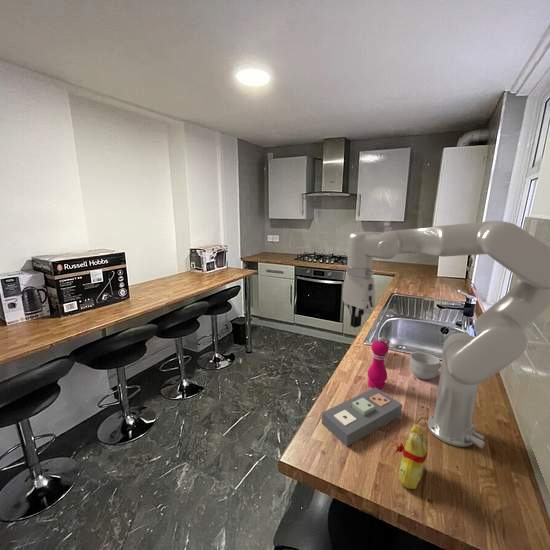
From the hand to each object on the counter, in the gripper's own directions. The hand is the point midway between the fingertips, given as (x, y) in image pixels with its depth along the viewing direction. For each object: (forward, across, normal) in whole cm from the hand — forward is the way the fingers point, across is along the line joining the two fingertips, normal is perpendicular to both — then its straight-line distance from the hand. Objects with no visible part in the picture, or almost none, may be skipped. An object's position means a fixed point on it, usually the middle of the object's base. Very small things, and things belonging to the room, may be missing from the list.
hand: (355, 325), depth 96 cm
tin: (+29, +14, -34) cm, 47 cm away
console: (+29, -8, +3) cm, 30 cm away
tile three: (+28, -8, -5) cm, 30 cm away
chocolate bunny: (+29, -28, +8) cm, 41 cm away
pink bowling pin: (+29, +2, -16) cm, 34 cm away
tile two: (+27, -8, +3) cm, 28 cm away
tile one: (+28, -8, +11) cm, 31 cm away
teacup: (+29, -5, -38) cm, 48 cm away
